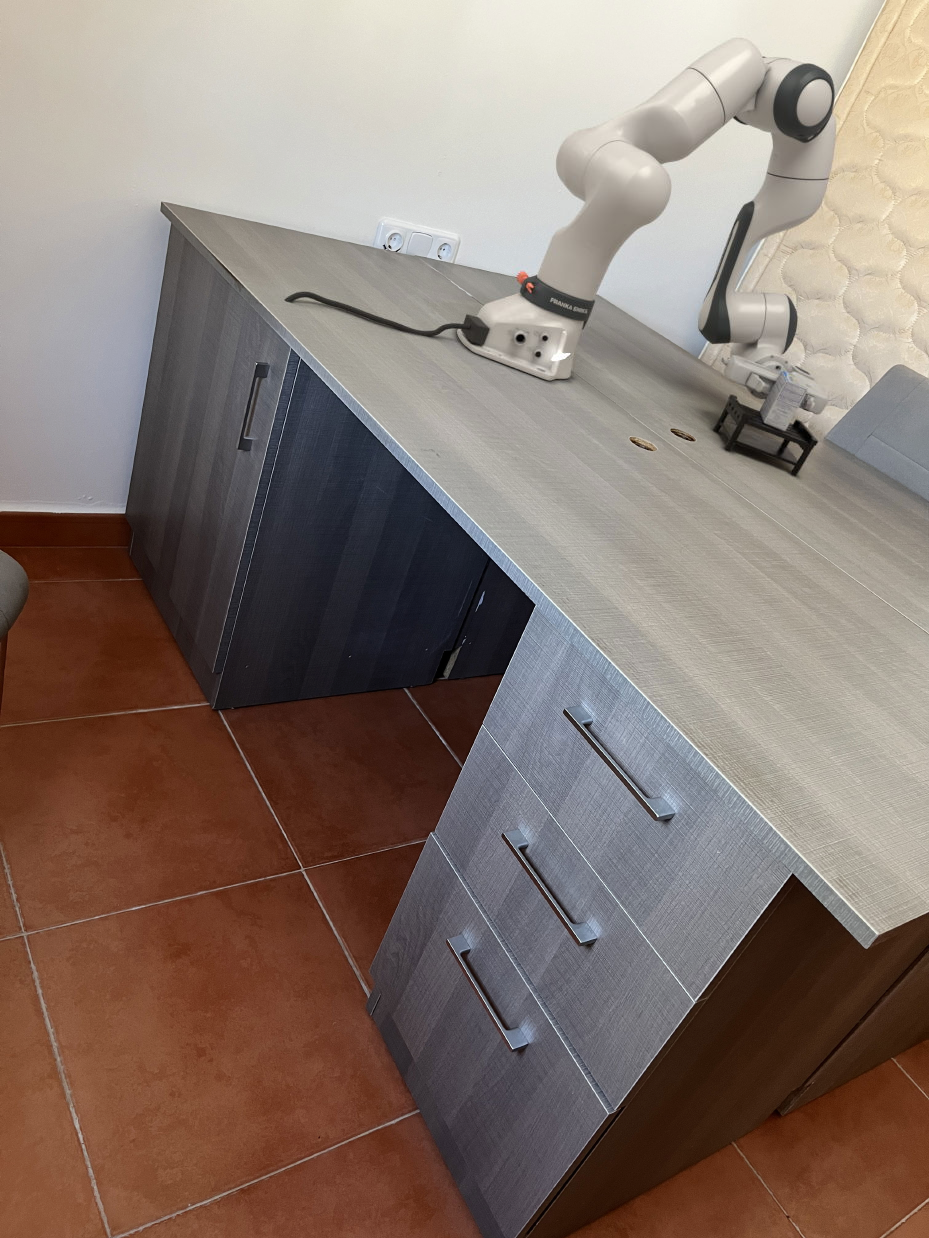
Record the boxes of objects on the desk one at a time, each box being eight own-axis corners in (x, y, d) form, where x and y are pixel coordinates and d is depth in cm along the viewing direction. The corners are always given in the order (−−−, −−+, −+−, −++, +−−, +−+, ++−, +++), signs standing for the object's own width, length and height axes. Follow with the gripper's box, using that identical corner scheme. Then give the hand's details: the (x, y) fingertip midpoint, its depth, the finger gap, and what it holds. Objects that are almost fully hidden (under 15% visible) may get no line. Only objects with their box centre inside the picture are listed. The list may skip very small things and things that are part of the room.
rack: (724, 449, 170) (744, 413, 167) (711, 428, 180) (730, 393, 176) (797, 477, 173) (819, 442, 169) (781, 455, 182) (801, 421, 179)
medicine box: (784, 433, 170) (809, 389, 166) (762, 423, 170) (786, 379, 166) (779, 420, 177) (803, 378, 173) (758, 411, 177) (781, 369, 172)
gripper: (727, 341, 178) (744, 362, 167) (820, 377, 182) (843, 401, 170) (711, 371, 181) (727, 394, 170) (803, 407, 185) (825, 432, 173)
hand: (786, 398), depth 170 cm, fingers open, 8 cm apart
